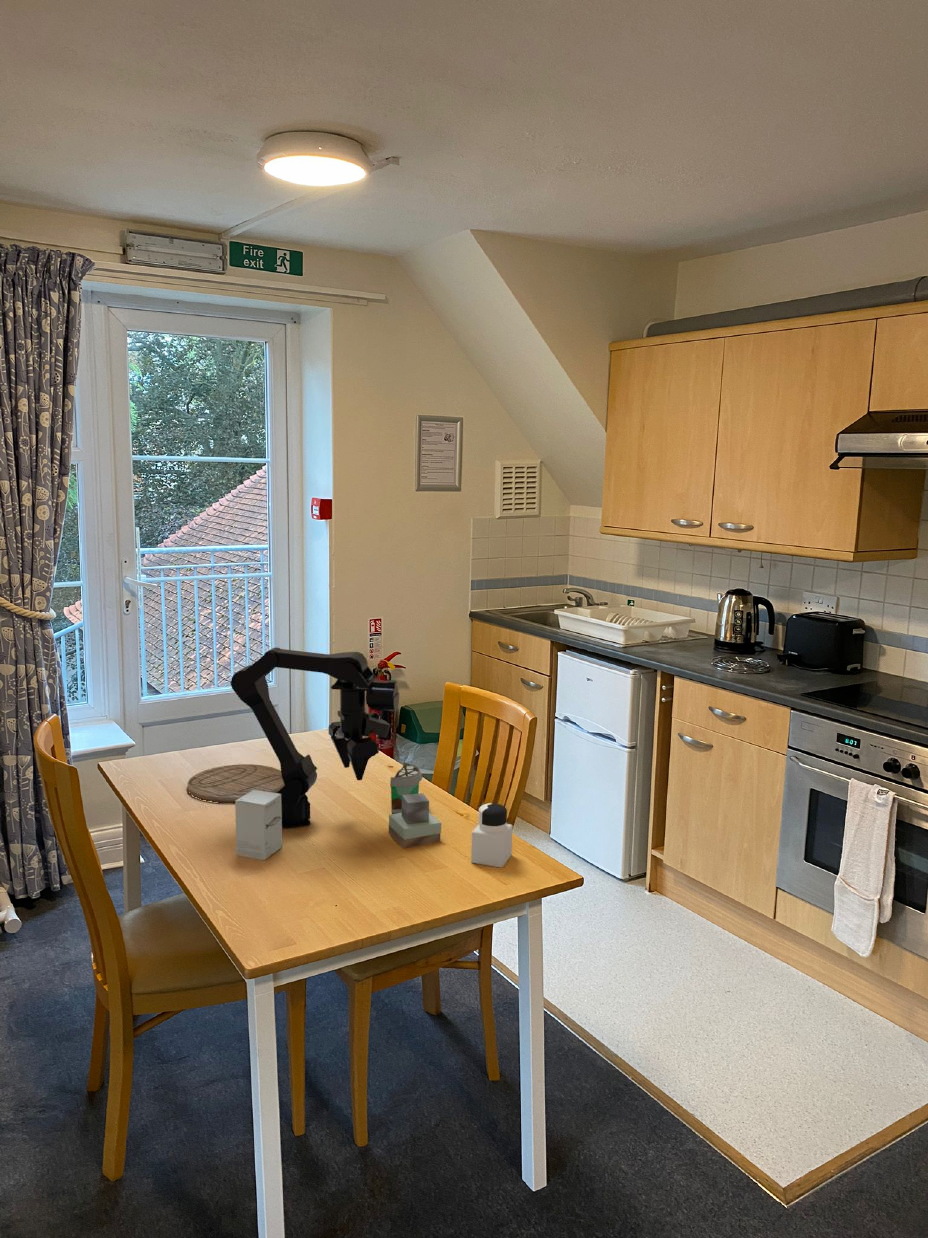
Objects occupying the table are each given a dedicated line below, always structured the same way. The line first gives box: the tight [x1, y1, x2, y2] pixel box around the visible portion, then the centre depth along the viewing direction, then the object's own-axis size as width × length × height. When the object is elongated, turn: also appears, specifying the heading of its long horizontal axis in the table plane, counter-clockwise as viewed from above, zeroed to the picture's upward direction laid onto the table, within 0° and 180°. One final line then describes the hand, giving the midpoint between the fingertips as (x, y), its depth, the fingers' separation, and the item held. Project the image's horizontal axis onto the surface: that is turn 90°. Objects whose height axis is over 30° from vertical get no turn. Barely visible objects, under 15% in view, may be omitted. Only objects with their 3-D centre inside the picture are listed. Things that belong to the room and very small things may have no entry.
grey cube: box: [402, 792, 430, 824], centre depth 211 cm, size 5×5×5 cm
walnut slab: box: [388, 825, 441, 849], centre depth 212 cm, size 9×9×2 cm
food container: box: [389, 762, 423, 814], centre depth 228 cm, size 12×6×10 cm, turn 168°
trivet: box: [186, 763, 284, 804], centre depth 242 cm, size 25×25×2 cm
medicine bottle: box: [470, 802, 513, 869], centre depth 201 cm, size 7×7×12 cm
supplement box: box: [234, 790, 283, 861], centre depth 202 cm, size 7×7×13 cm
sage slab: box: [388, 812, 442, 840], centre depth 212 cm, size 9×9×2 cm
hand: (353, 773), depth 215 cm, fingers open, 9 cm apart
